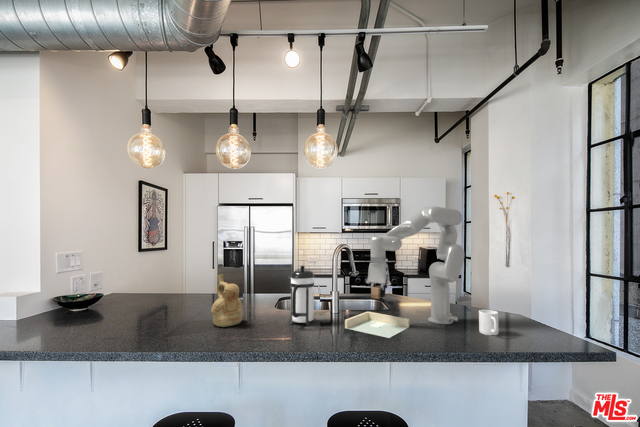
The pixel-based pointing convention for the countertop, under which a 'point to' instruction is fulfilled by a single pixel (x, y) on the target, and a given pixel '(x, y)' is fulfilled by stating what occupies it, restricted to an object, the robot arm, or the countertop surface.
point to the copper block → (376, 292)
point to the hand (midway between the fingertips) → (378, 296)
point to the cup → (488, 322)
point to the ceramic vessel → (227, 305)
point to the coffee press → (302, 296)
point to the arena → (377, 324)
